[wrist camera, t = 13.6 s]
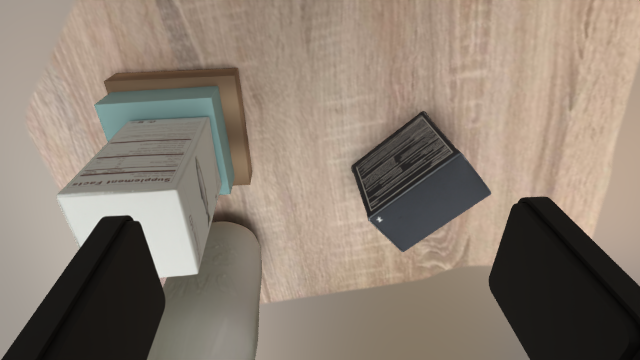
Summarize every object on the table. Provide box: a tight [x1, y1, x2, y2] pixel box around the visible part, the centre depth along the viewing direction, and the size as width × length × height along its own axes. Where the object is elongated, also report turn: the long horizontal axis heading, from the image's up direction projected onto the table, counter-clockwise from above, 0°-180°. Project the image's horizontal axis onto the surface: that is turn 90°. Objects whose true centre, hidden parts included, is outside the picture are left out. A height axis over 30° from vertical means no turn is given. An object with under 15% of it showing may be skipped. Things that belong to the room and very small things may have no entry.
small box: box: [352, 112, 491, 252], centre depth 39 cm, size 11×6×10 cm, turn 131°
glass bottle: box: [147, 221, 262, 360], centre depth 36 cm, size 10×10×28 cm
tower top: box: [94, 86, 235, 195], centre depth 36 cm, size 10×10×4 cm
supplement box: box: [56, 117, 222, 278], centre depth 29 cm, size 7×7×13 cm
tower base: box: [104, 68, 252, 185], centre depth 39 cm, size 12×12×4 cm
